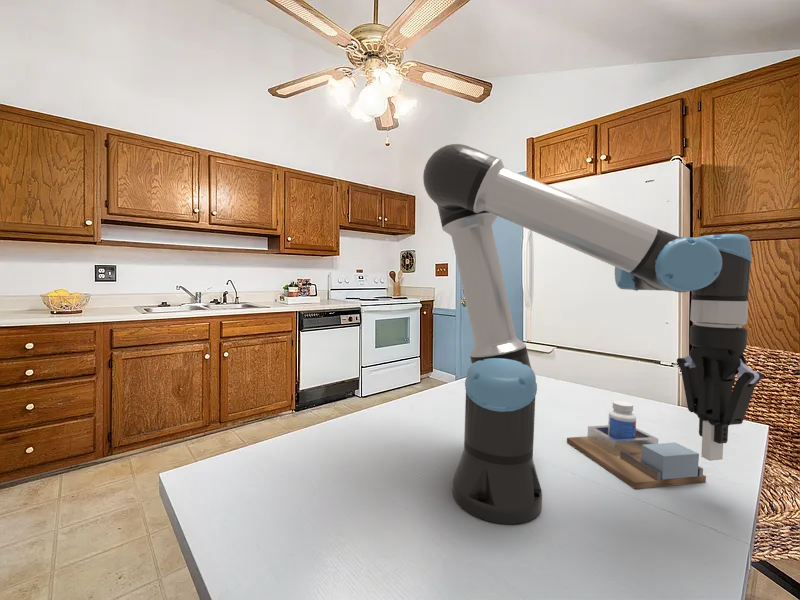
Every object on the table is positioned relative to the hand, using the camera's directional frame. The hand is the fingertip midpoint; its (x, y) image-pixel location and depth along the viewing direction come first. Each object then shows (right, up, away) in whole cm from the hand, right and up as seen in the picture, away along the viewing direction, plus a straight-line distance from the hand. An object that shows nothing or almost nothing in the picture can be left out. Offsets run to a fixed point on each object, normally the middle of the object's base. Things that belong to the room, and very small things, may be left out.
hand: (711, 457), depth 65 cm
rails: (-2, -6, +10) cm, 12 cm away
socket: (-4, -6, +20) cm, 21 cm away
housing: (-2, -6, +8) cm, 10 cm away
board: (-5, -7, +15) cm, 17 cm away
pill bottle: (-4, -6, +20) cm, 21 cm away
